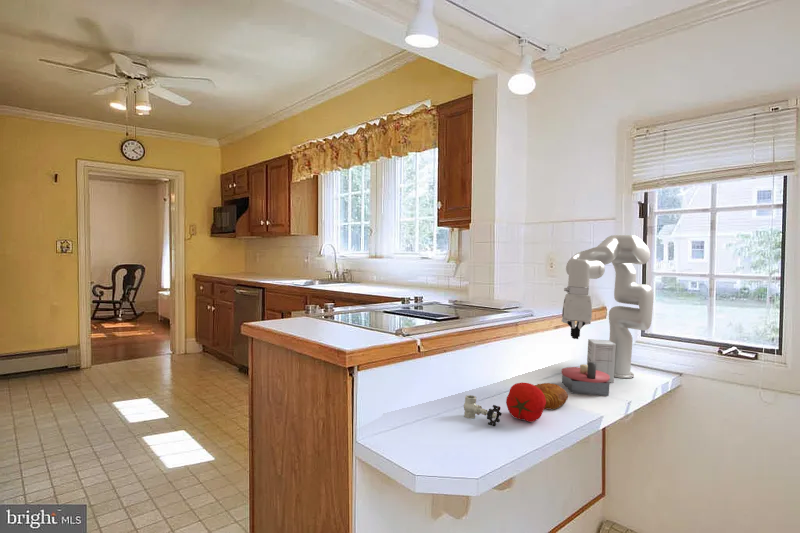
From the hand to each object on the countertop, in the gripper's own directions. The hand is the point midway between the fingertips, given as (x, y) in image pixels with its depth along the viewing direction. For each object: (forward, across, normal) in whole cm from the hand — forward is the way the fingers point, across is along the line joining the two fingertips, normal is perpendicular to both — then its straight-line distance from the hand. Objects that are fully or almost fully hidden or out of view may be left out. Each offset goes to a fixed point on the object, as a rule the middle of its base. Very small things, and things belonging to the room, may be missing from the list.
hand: (574, 338), depth 175 cm
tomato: (+22, -24, -31) cm, 45 cm away
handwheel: (+16, +7, +7) cm, 19 cm away
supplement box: (+22, +19, +24) cm, 38 cm away
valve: (+22, -39, -35) cm, 57 cm away
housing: (+22, +7, +7) cm, 24 cm away
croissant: (+22, -13, -13) cm, 29 cm away
